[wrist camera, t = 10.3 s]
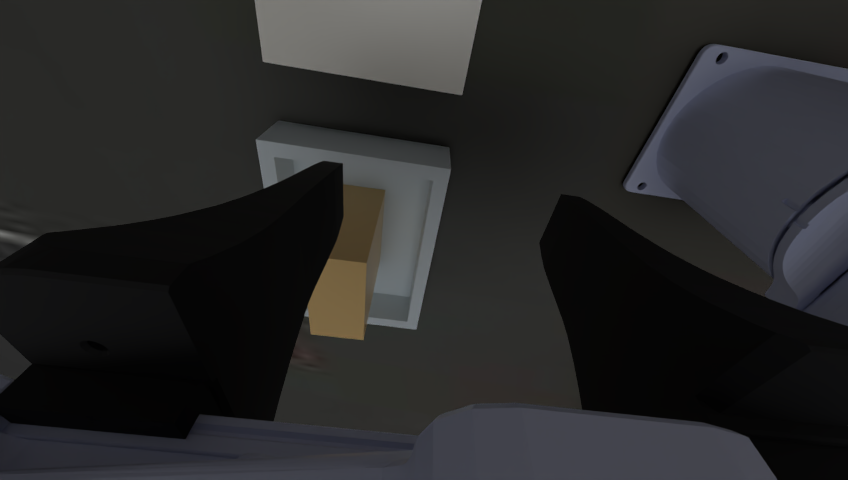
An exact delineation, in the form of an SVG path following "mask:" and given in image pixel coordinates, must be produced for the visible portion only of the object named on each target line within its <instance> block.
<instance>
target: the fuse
mask: <svg viewBox="0 0 848 480" xmlns="http://www.w3.org/2000/svg"><path fill="white" fill-rule="evenodd" d="M384 201H385V190H382V189H375V188H367V187H360V186H353V185H346V184H343V206H344V217H343V221H342V224H341V228H340V231H339V235H338V238H337V241H336V243H335V245H334V248H333V250H332V252H331V254H330V256H329V259H328V261H327V263H326V265H325V267H324V269H323V272H322V274H321V276H320V278H319V280H318V282H317V284H316V287H315V289H314V291H313V293H312V296H311V298H310V301H309V303H308V313H309V322H310V330H311V334H313V335H322V336H332V337H341V338H350V339H359V340H364V335H365V330H366V325H367V320H368V316H369V311H370V306H371V301H372V296H373V292H374V287H375V282H376V277H377V272H378V268H379V263H380V254H381V241H382V227H383V214H384Z"/></svg>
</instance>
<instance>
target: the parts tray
mask: <svg viewBox="0 0 848 480" xmlns="http://www.w3.org/2000/svg"><path fill="white" fill-rule="evenodd" d="M256 144H257V150H258V156H259V162H260V168H261V174H262V180H263V186H264V188H266V187H269V186H271V185H273V184H275V183H278V182H280V181H282V180H284V179H286V178H288V177H290V176H292V175H294V174H296V173H298V172H300V171H302V170H304V169H306V168H308V167H310V166H312V165H314V164H316V163H319V162H321V161H330V162H337V163H343V184H346V185H353V186H360V187H367V188H375V189H382V190H385V201H384V214H383V227H382V241H381V254H380V263H379V268H378V272H377V277H376V282H375V287H374V292H373V296H372V301H371V306H370V311H369V316H368V320H367V324H374V325H383V326H391V327H399V328H408V329H416V328H417V324H418V319H419V315H420V310H421V305H422V301H423V296H424V292H425V287H426V282H427V278H428V273H429V269H430V264H431V260H432V255H433V250H434V246H435V241H436V237H437V232H438V227H439V223H440V218H441V214H442V209H443V204H444V200H445V195H446V191H447V186H448V181H449V177H450V172H451V162H450V149H449V147H444V146H438V145H432V144H425V143H419V142H413V141H406V140H400V139H394V138H387V137H381V136H375V135H368V134H362V133H356V132H349V131H343V130H337V129H330V128H324V127H318V126H311V125H305V124H298V123H292V122H286V121H279V120H278V121H277V122H276V123H275V124H274V125H272V126H271V127H270V128H269V129H268V130H266V131H265V132H264V133H263V134H262V135H261V136H259V137H258V138H257V139H256ZM304 316H308V317H309V313H308V306H307V309H306V312H305V315H304Z"/></svg>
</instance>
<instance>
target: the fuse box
mask: <svg viewBox="0 0 848 480" xmlns="http://www.w3.org/2000/svg"><path fill="white" fill-rule="evenodd" d="M481 3H482V0H255V6H256V14H257V21H258V29H259V36H260V44H261V51H262V58H263V62H267V63H273V64H279V65H285V66H291V67H297V68H303V69H309V70H315V71H320V72H326V73H332V74H338V75H344V76H350V77H356V78H362V79H368V80H374V81H380V82H386V83H392V84H397V85H403V86H409V87H415V88H421V89H427V90H433V91H439V92H445V93H451V94H457V95H462V94H463V89H464V84H465V79H466V75H467V70H468V65H469V60H470V56H471V51H472V46H473V41H474V36H475V32H476V27H477V22H478V17H479V12H480V8H481Z"/></svg>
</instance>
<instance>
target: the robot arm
mask: <svg viewBox="0 0 848 480" xmlns="http://www.w3.org/2000/svg"><path fill="white" fill-rule="evenodd" d="M721 53H723V55H722V58H721V59H720V60H719V61H718V62H716V58H717V57H718V55H719V54H721ZM640 183H643V184H642V185H641V186H639V187H638V185H639V184H640ZM623 187H624V188H625V189H626V190H627V191H629V192H634V193H641V194H647V195H654V196H660V197H667V198H673V199H680V200H683V201H685V202H686V203H687V204H688V205H689V206H690V207H691V208H693V209H694V210H695V211H696V212H697V213H698V214H699V215H701V216H702V217H703V218H704V219H705V220H706V221H708V222H709V223H710V224H711V225H712V226H713V227H714V228H716V229H717V230H718V231H719V232H720V233H721V234H723V235H724V236H725V237H726V238H727V239H728V240H729V241H731V242H732V243H733V244H734V245H735V246H736V247H737V248H739V249H740V250H741V251H742V252H743V253H744V254H746V255H747V256H748V257H749V258H750V259H751V260H752V261H754V262H755V263H756V264H757V265H758V266H759V267H761V268H762V269H763V270H764V271H765V272H766V273H767V274H769V275H770V276H771V277H772V278H773V279H774V280H773V283H772V285H771V286H770V288H769V289H768V290H767V291H766V293H765V296H766V297H767V298H766V297H763V296H761V295H758V294H756V293H753V292H751V291H748V290H746V289H744V288H741V287H739V286H737V285H735V284H732V283H730V282H728V281H726V280H723V279H721V278H719V277H717V276H714V275H712V274H710V273H708V272H706V271H704V270H702V269H700V268H698V267H696V266H694V265H692V264H690V263H688V262H686V261H684V260H682V259H681V258H679V257H677V256H675V255H673V254H671V253H670V252H668V251H666V250H664V249H663V248H661V247H659V246H658V245H656V244H654V243H653V242H651V241H649V240H648V239H646V238H644V237H643V236H641V235H640V234H638V233H637V232H635V231H633V230H632V229H630V228H629V227H627V226H626V225H624V224H623V223H621V222H620V221H618V220H617V219H615V218H614V217H612V216H611V215H609V214H608V213H606V212H605V211H603V210H602V209H600V208H599V207H597V206H595V205H594V204H592V203H590V202H589V201H587V200H585V199H583V198H581V197H576V196H569V195H562V194H561V196H560V198H559V200H558V203H557V205H556V207H555V209H554V212H553V214H552V216H551V218H550V220H549V223H548V225H547V227H546V229H545V232H544V234H543V236H542V238H541V240H540V249H541V255H542V260H543V265H544V269H545V272H546V275H547V278H548V281H549V284H550V286H551V289H552V292H553V295H554V297H555V300H556V303H557V306H558V308H559V311H560V314H561V317H562V319H563V322H564V325H565V329H566V332H567V335H568V340H569V344H570V348H571V353H572V357H573V361H574V366H575V371H576V377H577V382H578V387H579V392H580V398H581V405H582V410H580V409H570V408H561V407H551V406H542V405H532V404H523V403H491V404H472V405H469V406H466V407H463V408H459V409H456V410H453V411H450V412H447V413H443V414H440V415H439V416H438V417H437V418H436V419H435V420H434V421H433V422H432V423H431V424H430V425H429V426H428V427H427V428H426V429H425V430H424V431H423V432H422V433H421V434H420V435H419V436H418V435H407V434H397V433H387V432H377V431H366V430H356V429H346V428H335V427H325V426H315V425H305V424H294V423H284V422H274V417H275V413H276V410H277V406H278V402H279V398H280V394H281V391H282V388H283V384H284V381H285V377H286V374H287V370H288V367H289V363H290V360H291V356H292V353H293V350H294V347H295V343H296V340H297V337H298V334H299V330H300V327H301V324H302V321H303V318H304V315H305V312H306V309H307V306H308V303H309V301H310V298H311V296H312V293H313V291H314V289H315V287H316V284H317V282H318V280H319V278H320V276H321V274H322V272H323V269H324V267H325V265H326V263H327V261H328V259H329V256H330V254H331V252H332V250H333V248H334V245H335V243H336V241H337V238H338V235H339V231H340V228H341V224H342V221H343V217H344V206H343V163H337V162H330V161H321V162H319V163H316V164H314V165H312V166H310V167H308V168H306V169H304V170H302V171H300V172H298V173H296V174H294V175H292V176H290V177H288V178H286V179H284V180H282V181H280V182H278V183H275V184H273V185H271V186H269V187H266V188H264V189H262V190H259V191H257V192H255V193H252V194H250V195H247V196H244V197H242V198H239V199H236V200H232V201H229V202H226V203H223V204H220V205H217V206H213V207H209V208H205V209H201V210H197V211H193V212H189V213H185V214H181V215H176V216H171V217H166V218H161V219H155V220H150V221H143V222H137V223H131V224H124V225H117V226H109V227H100V228H91V229H82V230H72V231H63V232H52V233H46V234H44V235H42V236H40V237H39V238H37V239H36V240H34V241H33V242H31V243H29V244H28V245H26V246H25V247H23V248H21V249H20V250H18V251H17V252H15V253H13V254H12V255H10V256H9V257H7V258H6V259H4V260H2V261H1V262H0V334H1V335H2V336H3V337H4V338H5V339H6V340H7V341H8V342H9V343H10V344H11V345H13V346H14V347H15V348H16V349H17V350H18V351H19V352H20V353H21V354H22V355H23V356H24V357H25V358H26V359H27V360H28V361H30V362H31V363H33V364H32V365H31V366H30V367H28V368H27V369H26V370H25V371H24V372H23V373H22V374H21V375H20V376H19V377H18V378H17V379H16V380H14V379H12V378H10V377H7V376H4V375H2V374H0V480H848V69H846V68H841V67H836V66H830V65H825V64H820V63H814V62H809V61H804V60H798V59H793V58H788V57H783V56H777V55H772V54H767V53H761V52H756V51H751V50H746V49H740V48H735V47H730V46H724V45H719V44H709V45H706V46H705V47H704V48H702V49H701V50H700V52H699V53H698V55H697V56H696V58H695V60H694V61H693V63H692V65H691V67H690V68H689V70H688V72H687V73H686V75H685V77H684V79H683V80H682V82H681V84H680V86H679V87H678V89H677V91H676V92H675V94H674V96H673V98H672V99H671V101H670V103H669V104H668V106H667V108H666V110H665V111H664V113H663V115H662V116H661V118H660V120H659V122H658V123H657V125H656V127H655V129H654V130H653V132H652V134H651V135H650V137H649V139H648V141H647V142H646V144H645V146H644V147H643V149H642V151H641V153H640V154H639V156H638V158H637V159H636V161H635V163H634V165H633V166H632V168H631V170H630V172H629V173H628V175H627V177H626V178H625V180H624V182H623Z"/></svg>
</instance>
